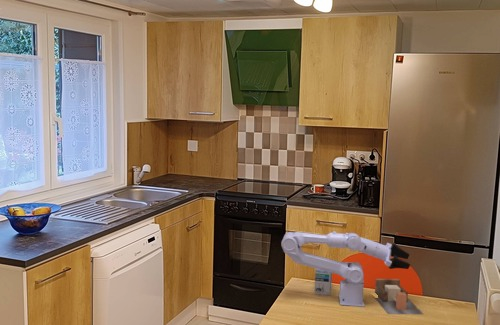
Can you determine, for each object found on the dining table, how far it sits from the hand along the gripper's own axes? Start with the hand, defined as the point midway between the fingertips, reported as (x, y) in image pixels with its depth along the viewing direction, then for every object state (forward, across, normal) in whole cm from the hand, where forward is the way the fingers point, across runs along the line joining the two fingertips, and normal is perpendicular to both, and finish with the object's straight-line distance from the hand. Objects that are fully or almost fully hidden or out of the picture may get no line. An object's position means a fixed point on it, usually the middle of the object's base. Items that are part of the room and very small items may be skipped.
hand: (408, 261), depth 211 cm
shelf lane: (+2, -1, +19) cm, 19 cm away
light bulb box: (-26, +3, +29) cm, 40 cm away
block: (+2, -2, +19) cm, 19 cm away
